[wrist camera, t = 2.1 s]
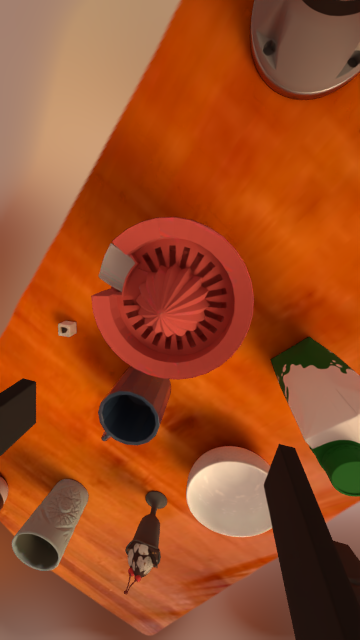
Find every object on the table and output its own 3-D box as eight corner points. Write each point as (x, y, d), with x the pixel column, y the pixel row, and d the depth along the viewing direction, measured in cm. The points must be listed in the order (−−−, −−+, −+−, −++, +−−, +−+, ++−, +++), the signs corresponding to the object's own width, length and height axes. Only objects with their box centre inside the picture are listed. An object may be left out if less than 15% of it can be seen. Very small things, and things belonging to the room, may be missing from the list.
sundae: (138, 504, 54) (110, 594, 40) (146, 483, 52) (119, 572, 38) (165, 514, 53) (147, 610, 39) (174, 495, 51) (158, 588, 37)
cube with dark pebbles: (65, 320, 44) (56, 324, 41) (76, 322, 43) (68, 326, 41) (66, 331, 44) (57, 335, 42) (76, 333, 44) (68, 337, 42)
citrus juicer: (157, 208, 36) (89, 158, 17) (257, 262, 36) (303, 273, 17) (119, 297, 41) (33, 336, 22) (208, 345, 41) (199, 426, 22)
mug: (142, 352, 43) (122, 379, 34) (181, 386, 44) (172, 421, 35) (102, 395, 47) (75, 429, 38) (138, 425, 48) (120, 466, 39)
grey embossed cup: (60, 508, 58) (22, 570, 47) (46, 476, 56) (2, 533, 45) (97, 507, 56) (66, 572, 45) (83, 474, 54) (48, 533, 43)
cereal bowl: (271, 504, 48) (280, 545, 41) (190, 493, 51) (186, 530, 44) (278, 435, 43) (289, 468, 37) (189, 427, 46) (184, 457, 39)
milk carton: (262, 358, 40) (302, 455, 21) (312, 328, 37) (410, 407, 18) (291, 396, 41) (355, 521, 22) (342, 369, 38) (464, 485, 19)
